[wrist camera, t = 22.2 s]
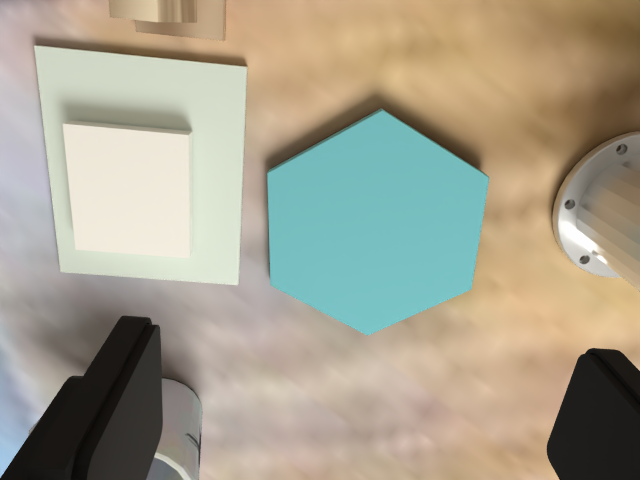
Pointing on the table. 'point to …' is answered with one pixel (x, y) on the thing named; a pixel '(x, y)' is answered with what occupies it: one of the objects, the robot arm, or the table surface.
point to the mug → (177, 435)
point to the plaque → (374, 223)
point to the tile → (130, 188)
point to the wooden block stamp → (174, 17)
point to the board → (155, 112)
